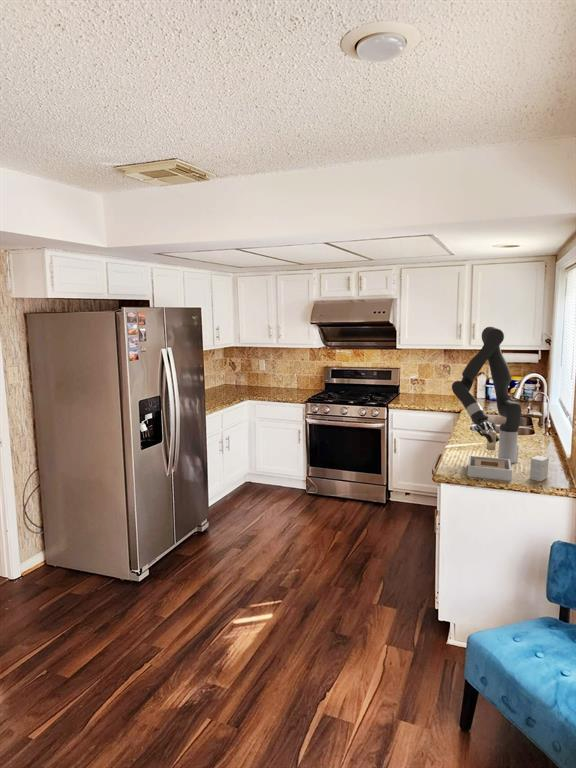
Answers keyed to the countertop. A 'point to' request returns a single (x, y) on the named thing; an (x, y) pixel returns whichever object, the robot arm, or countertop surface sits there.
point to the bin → (489, 468)
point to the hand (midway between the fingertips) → (494, 441)
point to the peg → (492, 445)
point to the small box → (539, 468)
